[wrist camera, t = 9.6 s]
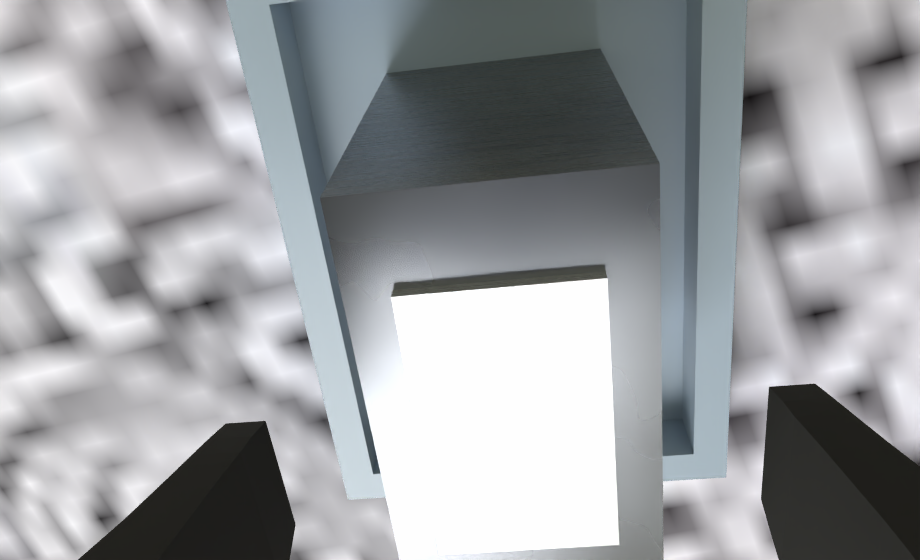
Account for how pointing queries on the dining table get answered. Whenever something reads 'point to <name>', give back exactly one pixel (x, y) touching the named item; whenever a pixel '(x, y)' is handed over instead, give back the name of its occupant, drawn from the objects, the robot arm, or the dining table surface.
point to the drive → (507, 309)
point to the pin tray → (497, 38)
